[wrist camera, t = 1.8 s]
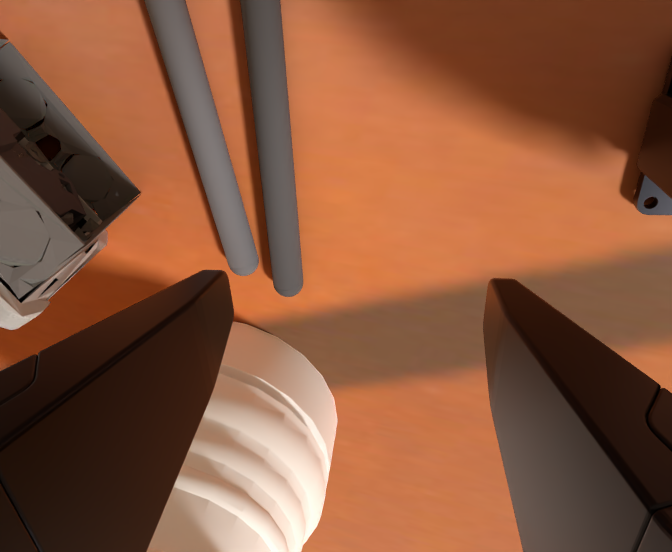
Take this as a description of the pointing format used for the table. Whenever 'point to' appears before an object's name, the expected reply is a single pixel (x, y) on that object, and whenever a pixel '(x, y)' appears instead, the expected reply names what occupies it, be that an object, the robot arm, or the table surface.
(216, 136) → the cord
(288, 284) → the cord
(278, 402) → the honey pot
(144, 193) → the table surface
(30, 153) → the electrical switch
